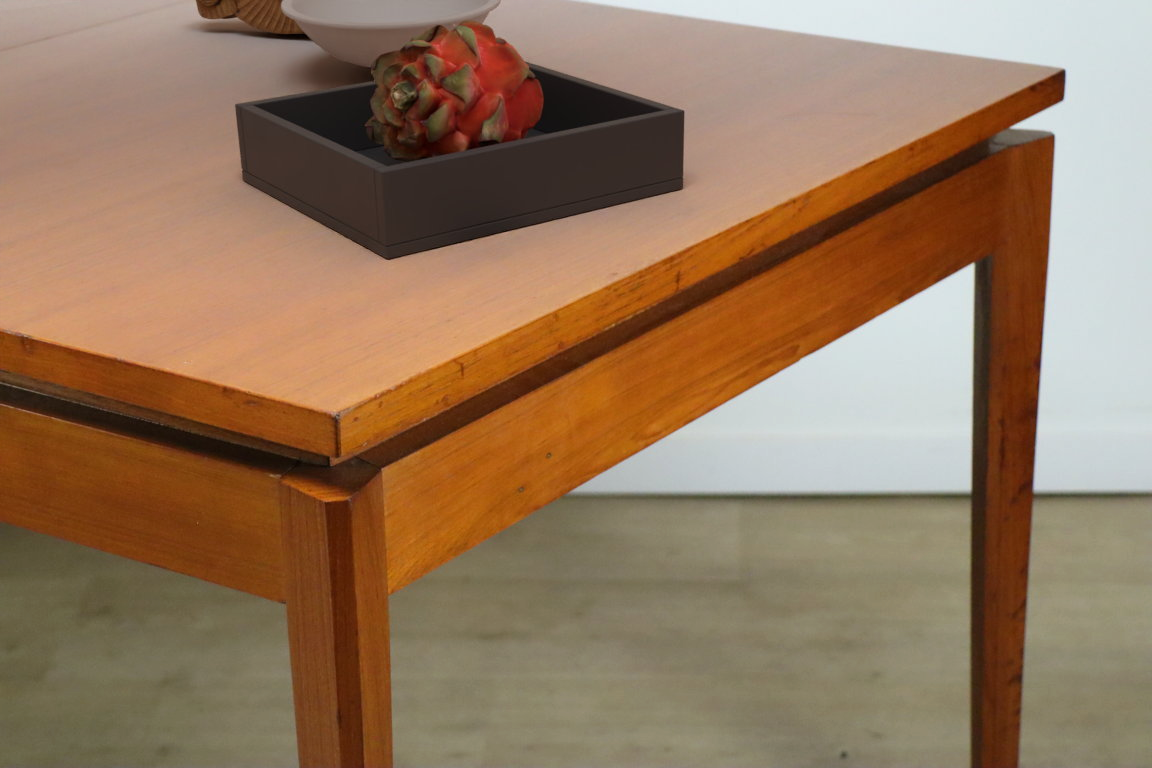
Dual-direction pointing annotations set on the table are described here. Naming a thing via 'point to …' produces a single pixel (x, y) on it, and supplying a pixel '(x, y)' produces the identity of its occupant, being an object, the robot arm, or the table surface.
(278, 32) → the wooden carving
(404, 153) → the dragon fruit
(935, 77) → the table surface
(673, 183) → the tray
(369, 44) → the dish
